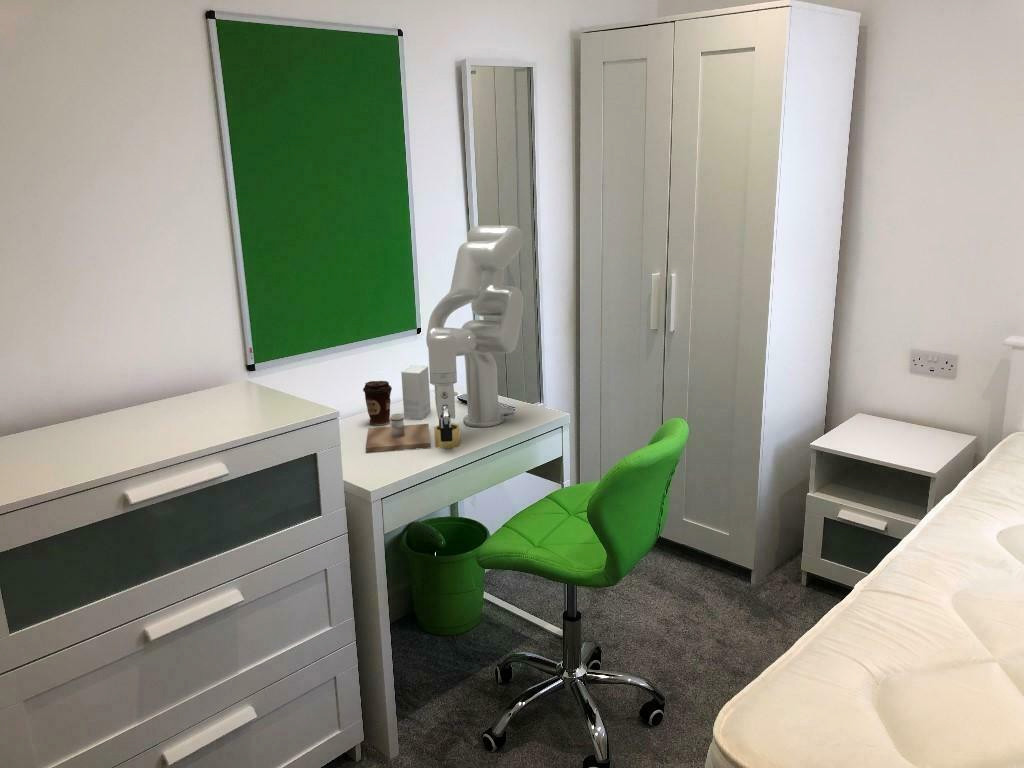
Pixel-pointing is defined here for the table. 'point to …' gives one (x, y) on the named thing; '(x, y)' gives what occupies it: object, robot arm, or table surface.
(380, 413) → the coffee cup
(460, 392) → the table surface
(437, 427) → the brass ring
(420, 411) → the skincare box
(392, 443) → the post board
